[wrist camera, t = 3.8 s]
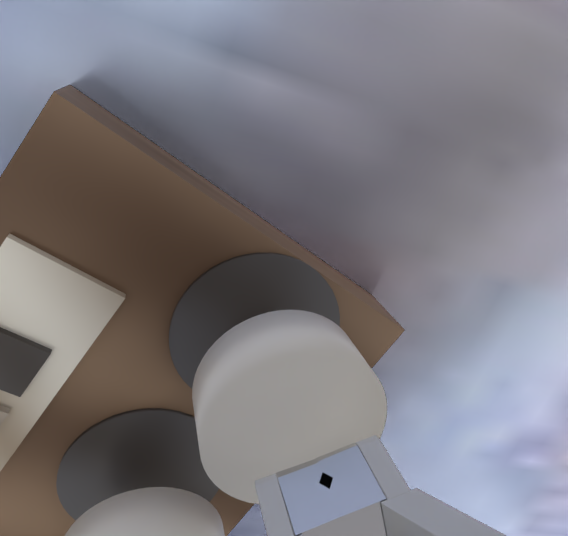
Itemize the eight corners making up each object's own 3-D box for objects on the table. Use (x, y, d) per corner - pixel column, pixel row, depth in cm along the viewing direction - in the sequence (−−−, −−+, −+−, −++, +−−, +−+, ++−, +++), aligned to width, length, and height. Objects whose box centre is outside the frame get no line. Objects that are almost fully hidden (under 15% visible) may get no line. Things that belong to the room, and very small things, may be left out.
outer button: (289, 470, 16) (308, 524, 14) (156, 416, 13) (158, 471, 12) (388, 356, 15) (422, 398, 13) (263, 278, 13) (283, 315, 11)
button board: (121, 594, 24) (118, 674, 21) (-209, 524, 18) (-282, 622, 15) (372, 295, 21) (411, 337, 18) (70, 84, 15) (50, 93, 12)
